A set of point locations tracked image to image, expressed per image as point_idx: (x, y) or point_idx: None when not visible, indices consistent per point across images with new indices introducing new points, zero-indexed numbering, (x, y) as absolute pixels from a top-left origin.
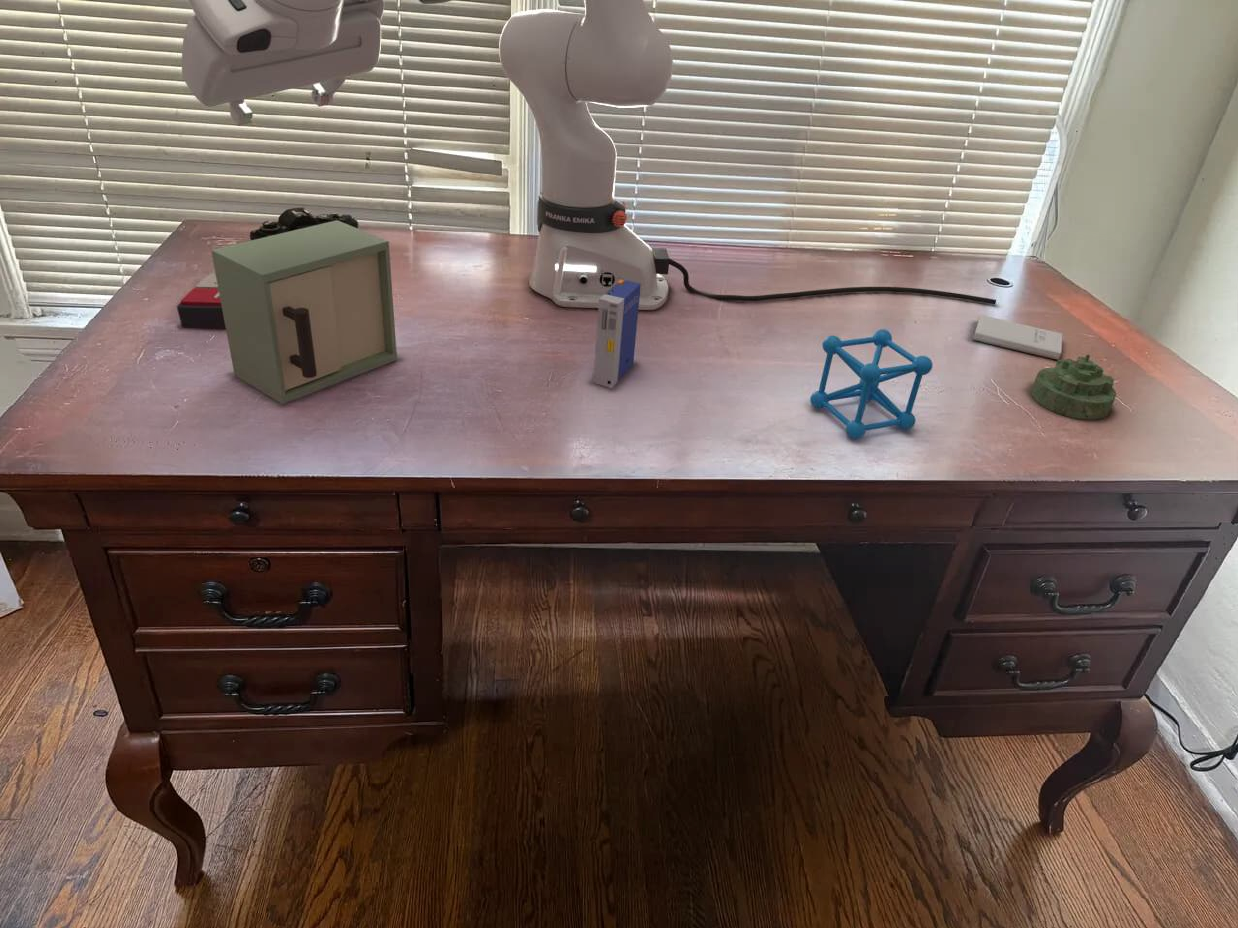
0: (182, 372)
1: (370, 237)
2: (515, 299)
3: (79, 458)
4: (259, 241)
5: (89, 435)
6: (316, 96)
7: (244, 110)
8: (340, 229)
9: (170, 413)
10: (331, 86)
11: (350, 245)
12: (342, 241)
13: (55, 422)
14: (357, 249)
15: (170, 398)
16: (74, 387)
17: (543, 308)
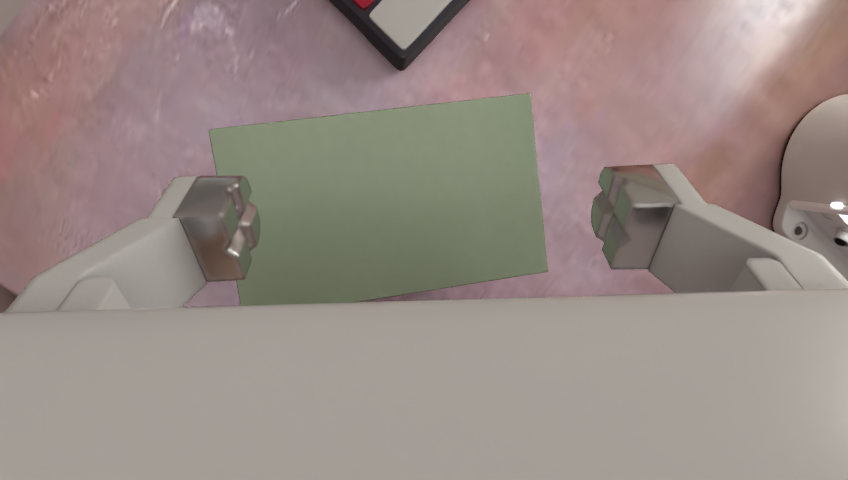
0: (208, 96)
1: (529, 233)
2: (741, 161)
3: (13, 252)
4: (321, 133)
5: (39, 202)
6: (612, 207)
7: (208, 264)
8: (504, 155)
9: (151, 205)
10: (690, 287)
11: (470, 257)
12: (469, 226)
13: (7, 140)
14: (470, 283)
15: (165, 164)
16: (56, 48)
17: (750, 213)
